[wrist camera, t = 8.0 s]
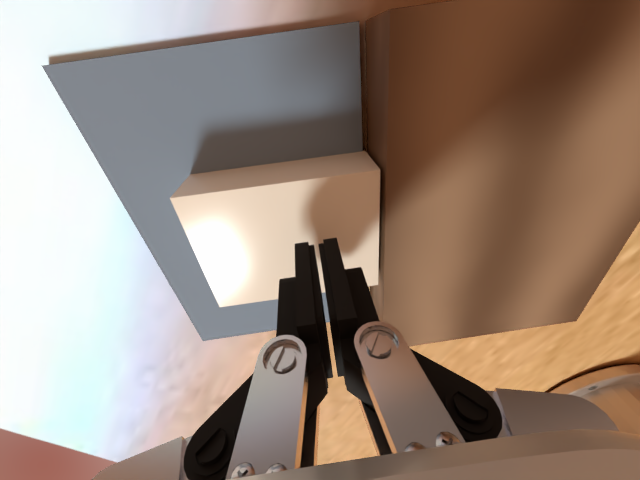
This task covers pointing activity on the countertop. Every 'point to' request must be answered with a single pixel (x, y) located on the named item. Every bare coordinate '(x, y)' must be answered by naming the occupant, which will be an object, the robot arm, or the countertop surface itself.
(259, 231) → the block
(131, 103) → the mat
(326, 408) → the countertop surface
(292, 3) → the countertop surface
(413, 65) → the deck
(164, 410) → the countertop surface
